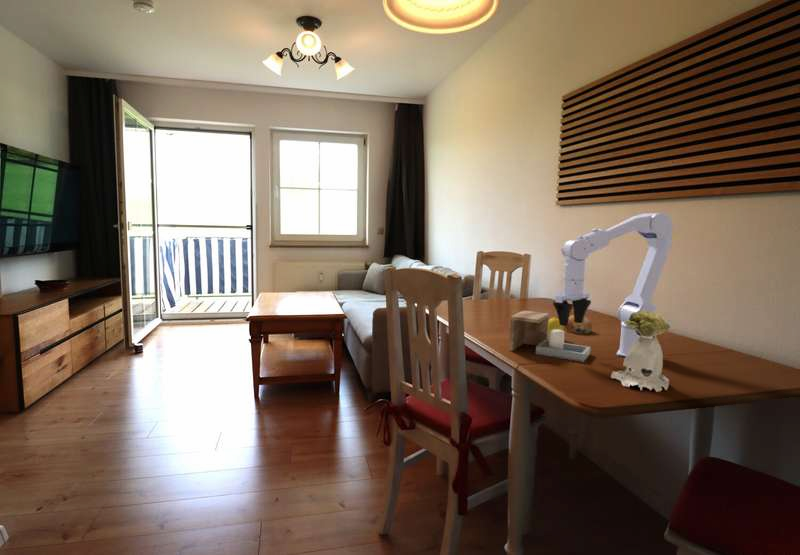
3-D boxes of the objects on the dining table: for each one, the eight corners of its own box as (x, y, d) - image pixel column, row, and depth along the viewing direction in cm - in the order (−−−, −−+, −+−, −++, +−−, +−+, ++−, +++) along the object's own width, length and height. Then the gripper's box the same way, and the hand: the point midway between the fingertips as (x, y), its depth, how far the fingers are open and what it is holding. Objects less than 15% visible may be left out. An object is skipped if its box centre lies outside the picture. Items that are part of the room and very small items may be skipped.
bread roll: (591, 340, 172) (594, 320, 174) (588, 334, 164) (591, 313, 166) (564, 336, 177) (568, 317, 179) (560, 330, 169) (563, 309, 171)
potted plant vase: (647, 374, 121) (653, 307, 119) (680, 391, 108) (687, 316, 106) (605, 374, 120) (610, 307, 118) (633, 391, 107) (639, 316, 105)
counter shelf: (546, 346, 148) (549, 313, 146) (536, 355, 137) (538, 319, 136) (521, 342, 152) (523, 310, 151) (509, 350, 142) (511, 316, 140)
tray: (589, 354, 139) (590, 346, 139) (583, 362, 131) (584, 354, 130) (544, 347, 147) (544, 340, 146) (535, 354, 138) (536, 346, 138)
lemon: (564, 341, 154) (565, 318, 154) (548, 341, 155) (549, 318, 154) (559, 337, 160) (560, 315, 159) (543, 337, 160) (544, 315, 159)
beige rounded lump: (555, 348, 143) (557, 328, 142) (566, 352, 139) (567, 331, 138) (545, 349, 141) (546, 329, 140) (555, 353, 137) (556, 332, 136)
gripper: (571, 282, 128) (568, 329, 129) (599, 279, 136) (596, 323, 138) (550, 280, 133) (547, 324, 135) (578, 277, 142) (575, 319, 143)
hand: (570, 324), depth 137 cm, fingers open, 7 cm apart
